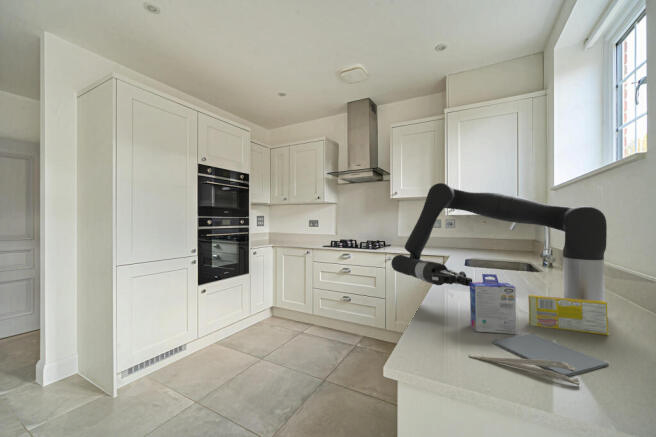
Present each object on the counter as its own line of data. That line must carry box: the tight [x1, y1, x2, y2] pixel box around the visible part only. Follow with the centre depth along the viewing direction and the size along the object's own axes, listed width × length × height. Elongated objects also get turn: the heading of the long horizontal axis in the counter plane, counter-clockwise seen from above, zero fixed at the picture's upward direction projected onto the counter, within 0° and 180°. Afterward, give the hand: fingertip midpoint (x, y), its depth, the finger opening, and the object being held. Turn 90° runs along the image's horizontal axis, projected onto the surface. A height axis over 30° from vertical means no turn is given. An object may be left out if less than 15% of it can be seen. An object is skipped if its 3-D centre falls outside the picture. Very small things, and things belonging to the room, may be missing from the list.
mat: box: [491, 332, 609, 377], centre depth 59 cm, size 13×15×1 cm
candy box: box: [528, 294, 610, 336], centre depth 72 cm, size 16×2×8 cm, turn 65°
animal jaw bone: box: [468, 354, 581, 386], centre depth 53 cm, size 17×5×2 cm, turn 57°
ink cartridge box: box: [469, 273, 517, 335], centre depth 72 cm, size 10×6×14 cm, turn 78°
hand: (470, 282), depth 79 cm, fingers closed
